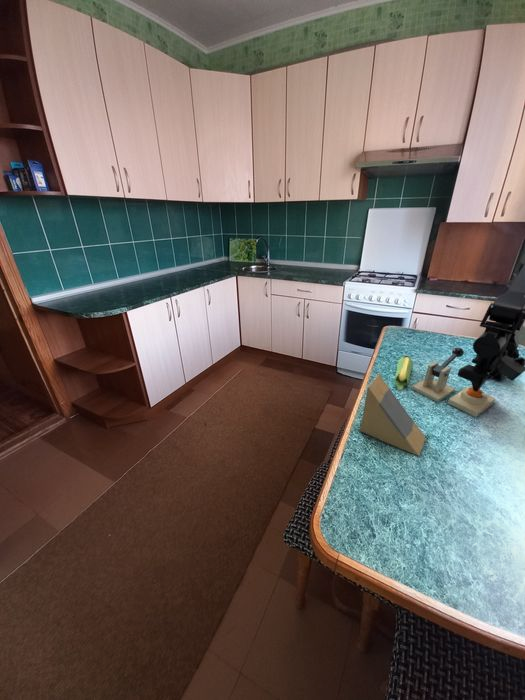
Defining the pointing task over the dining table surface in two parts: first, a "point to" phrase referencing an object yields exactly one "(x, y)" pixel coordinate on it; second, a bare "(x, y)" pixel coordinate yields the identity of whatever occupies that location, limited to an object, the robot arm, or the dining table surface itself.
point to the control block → (471, 402)
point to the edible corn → (403, 371)
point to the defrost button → (474, 393)
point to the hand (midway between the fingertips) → (475, 390)
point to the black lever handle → (448, 361)
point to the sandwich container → (389, 419)
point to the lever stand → (434, 384)
